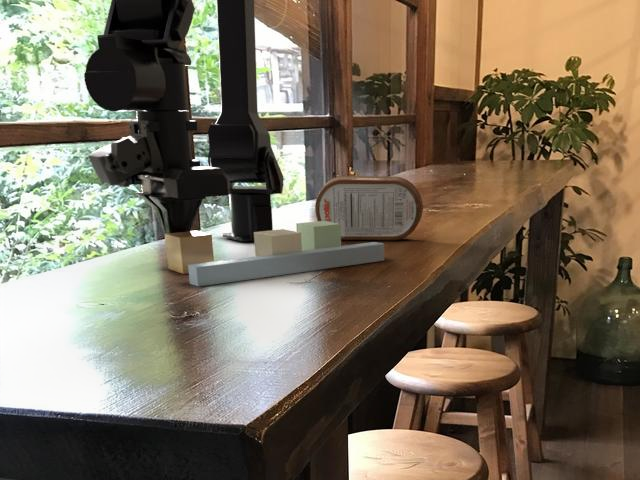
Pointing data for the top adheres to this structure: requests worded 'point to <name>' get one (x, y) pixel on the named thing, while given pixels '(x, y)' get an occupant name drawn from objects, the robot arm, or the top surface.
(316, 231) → the sage block
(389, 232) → the tin
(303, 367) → the top surface
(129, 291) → the top surface
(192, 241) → the maple block
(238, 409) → the top surface
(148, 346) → the top surface
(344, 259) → the straightedge
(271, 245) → the cream block
